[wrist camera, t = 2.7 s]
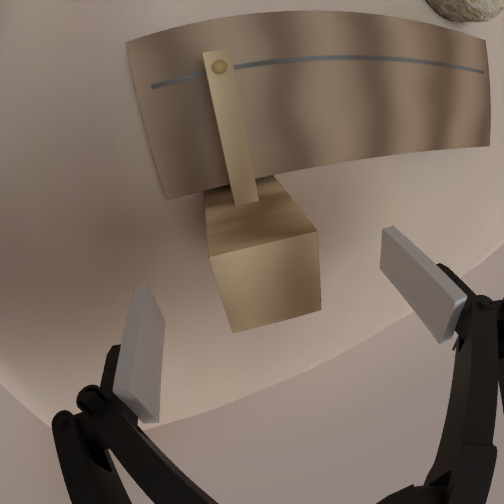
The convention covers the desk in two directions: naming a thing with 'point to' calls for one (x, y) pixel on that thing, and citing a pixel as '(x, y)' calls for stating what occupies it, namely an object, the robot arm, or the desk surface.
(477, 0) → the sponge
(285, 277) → the wooden lever on block
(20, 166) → the desk surface
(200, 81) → the board
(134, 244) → the desk surface
